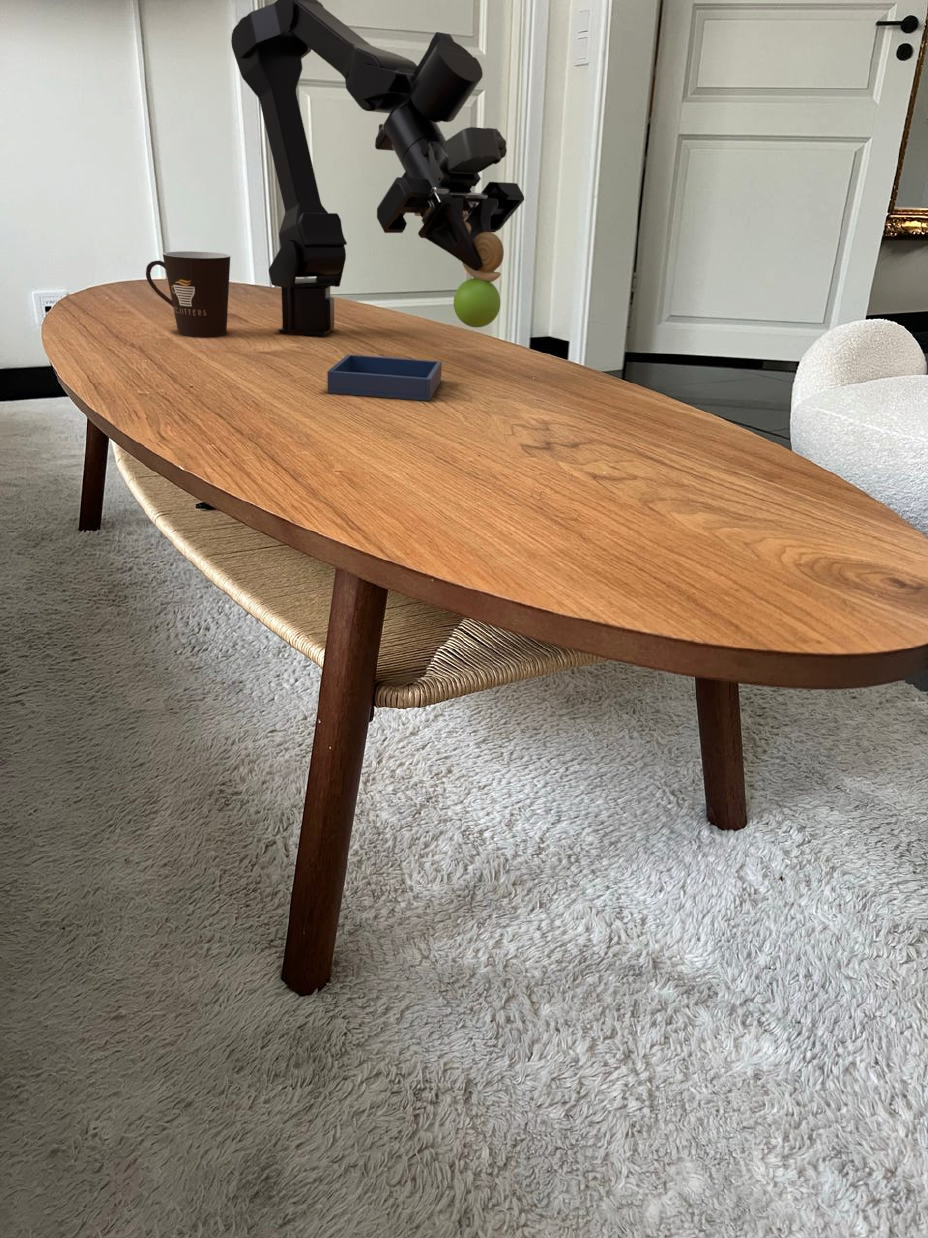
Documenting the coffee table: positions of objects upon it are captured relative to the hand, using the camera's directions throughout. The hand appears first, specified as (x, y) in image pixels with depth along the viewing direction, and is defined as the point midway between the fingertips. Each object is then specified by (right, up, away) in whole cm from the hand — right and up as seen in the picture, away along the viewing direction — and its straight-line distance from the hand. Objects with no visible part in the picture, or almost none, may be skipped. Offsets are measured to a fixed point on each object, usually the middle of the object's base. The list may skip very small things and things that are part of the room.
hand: (485, 268), depth 102 cm
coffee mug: (-39, 0, +23) cm, 45 cm away
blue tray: (-11, -14, -2) cm, 18 cm away
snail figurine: (-2, -5, +4) cm, 7 cm away
